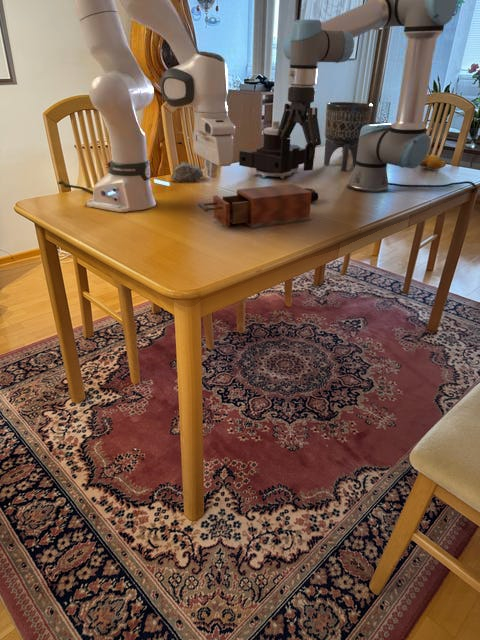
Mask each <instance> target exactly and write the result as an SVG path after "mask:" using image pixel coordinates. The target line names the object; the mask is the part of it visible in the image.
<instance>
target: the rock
mask: <svg viewBox="0 0 480 640" xmlns="http://www.w3.org/2000/svg"><path fill="white" fill-rule="evenodd" d="M201 178H202V179H203V178H204V171H203V170H202V169H201V168H200V167H199V166H197V165H194V164H192V163H189V162H186V161H181V163H180V164H179V165H177V166H176V167H175V168H174V169H173V171H172V173H171V179H170V180H171V181H172V182H177V183H189V182H191V183H192V182H196V181H197V180H200V179H201Z"/></svg>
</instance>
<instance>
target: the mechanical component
mask: <svg viewBox="0 0 480 640" xmlns="http://www.w3.org/2000/svg"><path fill="white" fill-rule="evenodd" d="M280 123H281V121H279V120H272V126H271V127H265V128H264V129H263V145H262V146H258V147H257V148H256V151H250V150H245V149H241V150H239V153H238V154H239V155H238V157H239V159H238V166H240V167H245V168H250V169H255V173H256V174H257V175H261V177H262V178H267V177H279V178H280V179H285V176H291V175H292V173H298V171H299V167H300V165H304V158H305V147H301V146H299V145H297V144H291V143H290V153H289V161H286V162H281V161H280V156H281V138H280V135H278V134H277V133H278V129H279V126H280ZM282 131H283V130H282Z"/></svg>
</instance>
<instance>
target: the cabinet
mask: <svg viewBox="0 0 480 640" xmlns="http://www.w3.org/2000/svg"><path fill="white" fill-rule="evenodd" d="M304 188H305V187H302V186H300V185H297V184H295V183H289V184H279V185H278V184H277V185H270V186H260V187H250V188H239V189H236V195H242V196H243V197H245V198H247V199H248V200H250V201H251V212H250V222H243V224H246V226H248V227H250V228H251V229H253V228H260V227H267V226H276V225H282V224H288V223H296V222H297V223H298V222H304V221H310V216H311V215H310V214H311V203H312V201H311V194H312V192H310V191H308V190H306V189H304Z"/></svg>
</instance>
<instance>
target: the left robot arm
mask: <svg viewBox="0 0 480 640" xmlns="http://www.w3.org/2000/svg"><path fill="white" fill-rule="evenodd" d="M119 2H120V4H121V6H122V7H123V9H124V11H125V12H126V13H127V15H128V16H129V17H130V19H131V20H133V21H134V22H136V23H137V24H139V25H141V26H143V27H145V28H147V29H149V30H151V31H152V32H154V33H155V34H157V35H158V36H160V37H161V38H162V39H164V40H165V41H166V43H167V44H168V45H169V47H170V49H171V50H172V53H173V55H174V56H175V58H176V60H177V62H178V65H176V66H175V65H174V66H173V67H170V68H167V69H166V70H165V71H164V72H163V74H162V76H161V79H160V85H159V86H160V92H161V96H162V98H163V100H164V101H165V102H166V103H167V105H169V106H170V107H173V108H177V109H181V108H193V116H194V117H193V121H194V122H193V123H194V128H193V132H192V133H193V134H192V135H193V137H192V150H193V153H194V155H196V156H198V157H200V158H202V159H204V164H205V165H204V166H205V169H206V176H207V177H209V178H210V179H216V178H217V176H218V169H219V167H230V166H231V165H232V164H233V161H234V159H233V158H234V137H233V135H235V133H236V126H235V124H234V123H233V122H232V121H231V119H230V117H229V109H228V108H229V107H228V105H227V98H228V94H229V78H228V76H229V75H228V68H227V67H228V66H227V63H226V59H225V58H224V57H223V56H222V55H220V54H217V53H215V52H209V51H203V50H202V51H200V50H199V48H198V46H197V45H196V42H195V40H194V39H193V37H192V35H191V33H190V31H189V29H188V27H187V26H186V24H185V21H184V20H183V19H182V17H181V15H180V13H179V12H178V10H177V9H176V7H175V6H174V4H173V3H172V1H171V0H119ZM73 3H74V4H73V5H74V8H75V11H76V16H77V19H78V22H79V25H80V27H81V30H82V33H83V36H84V39H85V42H86V45H87V48H88V51H89V53H90V55H91V56H92V58H94V59H95V60H96V61H97V63H98V64H99V65H100V67H101V68H102V70H103V71H104V73H102V74H100V75H98V76H97V77H95V78H93V80H92V81H91V83H90V85H89V89H88V97H89V100H90V102H91V104H92V106H93V107H94V108H95V110H97V112H98V113H99V114H100V116H101V118H102V120H103V122H104V125H105V128H106V131H107V135H108V139H109V147H110V153H111V160H110V161H108V162H107V163H105V164H104V166H105V169H108V173H106V174H105V175H104V176H103V177H102V178H101V179H99V180H98V181H97V182H96V183H95V184H94V187H93V191H92V190H91V189H89V188H87V187H84V186H81V185H80V186H79V185H73V184H69V183H66V182H65V181H64V180H62V179H60V180H61V182H60V180H59V181H58V184H62V185H64V187H68V188H71V189H72V188H73V189H78V190H83V191H86V192H88V193H90V194H92V197H91V198H90V199H88V200H87V201H86V206H87V207H90V208H96V209H101V210H107V211H111V212H117V213H128V212H132V211H134V212H135V211H141V210H142V211H143V210H146V209H150V208H153V207H155V206H156V205H157V202H156V199H155V196H154V192H153V188H152V184H151V167H150V166H151V165H150V160H149V159H148V148H147V136H146V133H145V131H143V129H142V127H141V126H140V123H139V121H138V117H137V114H136V113H137V112H139V111H142V110H144V109H145V108H147V107H148V106H149V105H150V104H151V103H152V101H153V99H154V96H155V91H154V90H155V89H154V85H153V83H152V82H151V80H150V79H149V78H148V77H147V76H146V75H145V73H144V71H142V69H141V66H140V65H139V63H138V61H137V58H136V57H135V55H134V53H133V52H132V49H131V47H130V45H129V42H128V39H127V37H126V34H125V29H124V27H123V24H122V20H121V16H120V14H119V11H118V8H117V4H116V2H115V0H73ZM153 181H154V183H155V184H158V185H159V184H160V185H163V186H168V187H170V182H169V181H163V180H159V179H155V178H154V179H153Z"/></svg>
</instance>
